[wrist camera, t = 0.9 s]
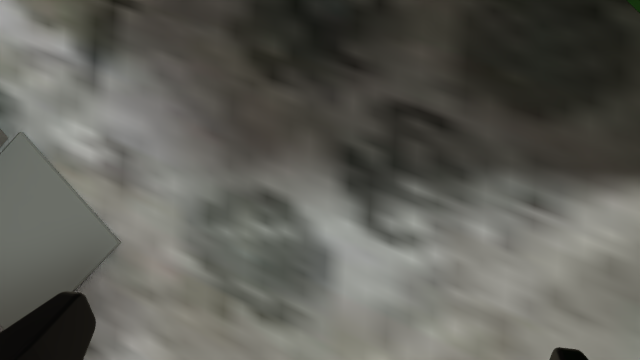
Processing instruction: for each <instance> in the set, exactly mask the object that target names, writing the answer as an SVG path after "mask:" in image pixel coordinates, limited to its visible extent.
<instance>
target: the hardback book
mask: <svg viewBox="0 0 640 360" xmlns="http://www.w3.org/2000/svg"><path fill="white" fill-rule="evenodd" d="M627 1H628V2H629V3H630V4H631V5H632V6H633V7H634V8H635V9H636V10H637V11H638V12H639V13H640V0H627Z"/></svg>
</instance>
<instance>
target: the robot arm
mask: <svg viewBox="0 0 640 360" xmlns="http://www.w3.org/2000/svg"><path fill="white" fill-rule="evenodd" d="M95 325H96V321H95V317H94V314H93V312H92V310H91V308H90V305H89V303H88V301H87V299H86V297H85V295H84V294H82V293H78V292H69V291H64V292H61V293H59V294H57V295H56V296H54V297H53V298H51V299H50V300H48V301H47V302H45V303H44V304H42V305H41V306H39V307H38V308H36V309H35V310H33V311H32V312H30V313H29V314H27V315H26V316H24V317H23V318H21V319H20V320H18V321H17V322H15V323H14V324H12V325H11V326H9V327H8V328H6V329H5V330H3V331H2V332H0V360H83V359H84V356H85V353H86V351H87V348H88V346H89V343H90V341H91V338H92V336H93V333H94V330H95ZM550 360H588V359H587V357H586V356H585V355H584V354H583V353H582V352H581V351H579V350H576V349H568V348H560V347H559V348H555V349H554V350H553V352H552V355H551V357H550Z"/></svg>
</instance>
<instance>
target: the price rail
mask: <svg viewBox="0 0 640 360" xmlns="http://www.w3.org/2000/svg"><path fill="white" fill-rule="evenodd" d="M7 139H8V137H7V136H6V135H5V134H4V133H3V132H2V130H1V129H0V147H1V146H2V145H3V144H4V142H5V141H6V140H7ZM120 243H121V242H120V241H119V240H118V239H117V238H116V236H115V235H114V234H113V233H112V232H111V231H110V230H109V229H108V227H107V226H106V225H105V224H104V223H103V222H102V221H101V220H100V218H99V217H98V216H97V215H96V214H95V213H94V212H93V211H92V209H91V208H90V207H89V206H88V205H87V204H86V203H85V202H84V200H83V199H82V198H81V197H80V196H79V195H78V194H77V193H76V192H75V190H74V189H73V188H72V187H71V186H70V185H69V184H68V183H67V181H66V180H65V179H64V178H63V177H62V176H61V175H60V174H59V172H58V171H57V170H56V169H55V168H54V167H53V166H52V165H51V163H50V162H49V161H48V160H47V159H46V158H45V157H44V156H43V154H42V153H41V152H40V151H39V150H38V149H37V148H36V147H35V145H34V144H33V143H32V142H31V141H30V140H29V139H28V138H27V137H26V135H25V134H24V133H22V132H20V133H19V134H18V135H17V136H16V137H15V139H14V140H13V141H12V142H11V143H10V144H9V145H8V146H7V147H6V148H5V150H4V151H3V152H2V153H1V154H0V325H1V327H2V328H3V329H4V330H5V329H6V328H8V327H9V326H11V325H12V324H14V323H15V322H17V321H18V320H20V319H21V318H23V317H24V316H26V315H27V314H29V313H30V312H32V311H33V310H35V309H36V308H38V307H39V306H41V305H42V304H44V303H45V302H47V301H48V300H50V299H51V298H53V297H54V296H56V295H57V294H59V293H61V292H64V291H69V292H73V291H74V290H75V289H76V288H77V287H78V286H79V285H80V284H81V283H82V282H83V281H84V280H85V279H86V278H87V277H88V276H89V275H90V274H91V273H92V272H93V271H94V270H95V269H96V268H97V267H98V266H99V265H100V264H101V263H102V262H103V261H104V260H105V258H106V257H107V256H108V255H109V254H110V253H111V252H112V251H113V250H114V249H115V248H116V247H117V246H118V245H119V244H120Z"/></svg>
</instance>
